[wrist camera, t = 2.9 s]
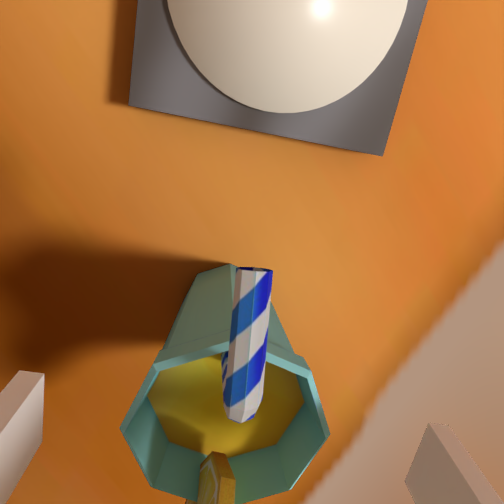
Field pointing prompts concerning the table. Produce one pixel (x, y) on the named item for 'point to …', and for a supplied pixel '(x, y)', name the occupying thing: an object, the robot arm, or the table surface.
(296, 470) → the cup
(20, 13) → the table surface
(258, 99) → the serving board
